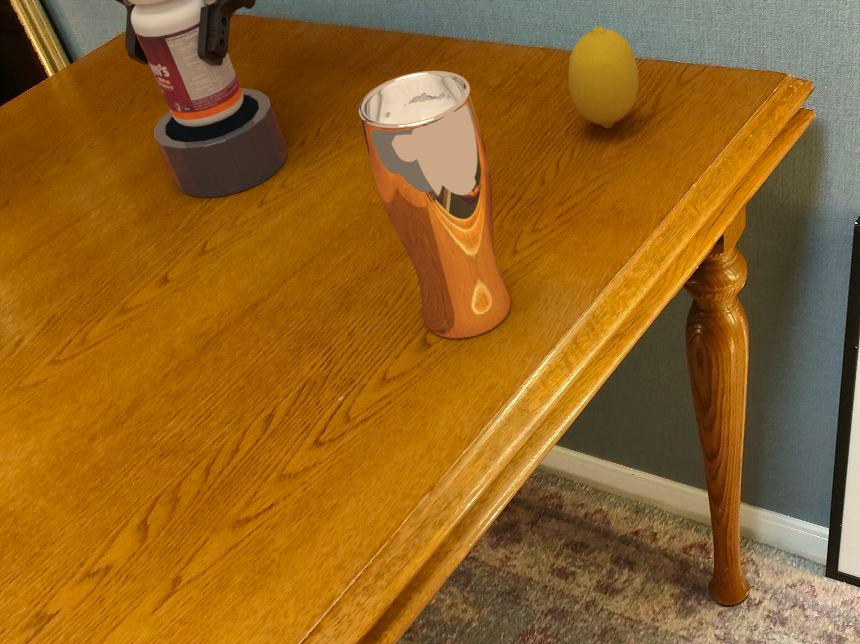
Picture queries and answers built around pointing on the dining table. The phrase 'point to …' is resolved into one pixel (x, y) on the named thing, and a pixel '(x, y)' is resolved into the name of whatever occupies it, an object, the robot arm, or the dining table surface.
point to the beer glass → (438, 196)
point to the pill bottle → (184, 62)
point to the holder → (224, 149)
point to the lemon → (603, 77)
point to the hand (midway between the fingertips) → (174, 61)
